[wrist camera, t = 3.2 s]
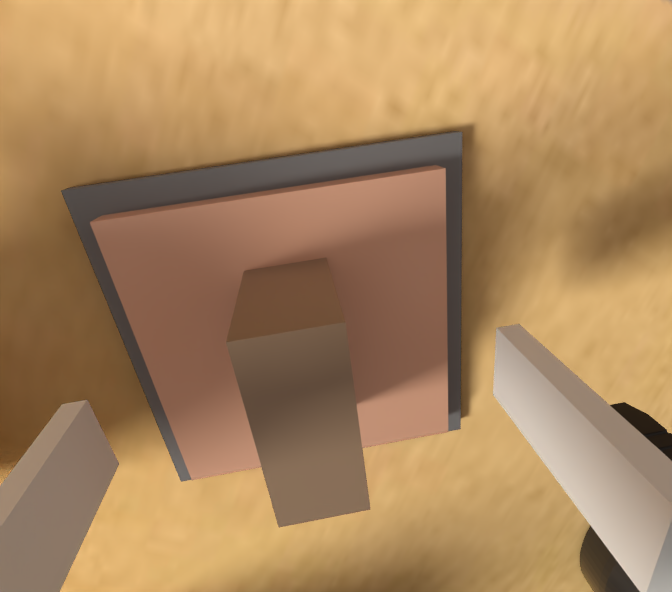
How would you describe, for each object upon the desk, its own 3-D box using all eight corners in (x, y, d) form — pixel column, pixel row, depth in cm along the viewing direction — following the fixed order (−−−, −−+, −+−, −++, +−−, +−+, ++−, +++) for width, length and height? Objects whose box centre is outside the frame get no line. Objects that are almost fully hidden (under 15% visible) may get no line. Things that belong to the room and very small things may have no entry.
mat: (455, 131, 15) (462, 131, 14) (455, 420, 21) (460, 428, 20) (69, 187, 14) (60, 190, 14) (183, 471, 20) (181, 481, 20)
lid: (435, 165, 15) (524, 195, 9) (440, 417, 20) (500, 531, 14) (101, 215, 14) (-13, 279, 9) (196, 462, 19) (161, 601, 14)
